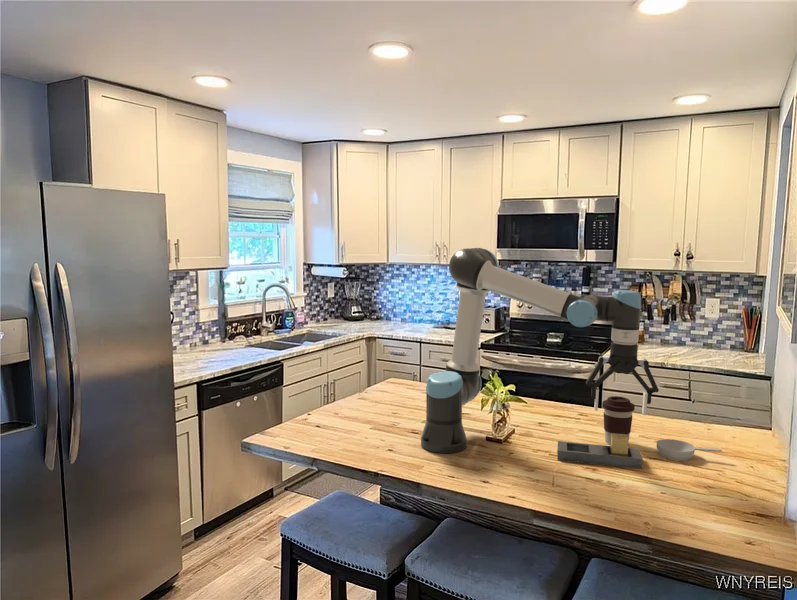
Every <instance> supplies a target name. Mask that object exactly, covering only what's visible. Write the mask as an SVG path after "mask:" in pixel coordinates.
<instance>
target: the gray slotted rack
mask: <svg viewBox="0 0 797 600" xmlns="http://www.w3.org/2000/svg"><path fill="white" fill-rule="evenodd" d="M610 450H611V445H602V444H595V443H593V444H592V443H583V442H582V443H581V442H569V441H562V440H561V441H560V440H557V454H556V455H557V461H562V462H573V463H579V464H581V463H583V464H591V465H601V466H602V465H603V466H610V467H611V466H612V467H620V468H629V469H637V470H643V462H644V461H643V460H644V459H643V457H642V454H641V451H640V449H639V448H636V447H635V448H634V447H628V456H618V455H610Z"/></svg>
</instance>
